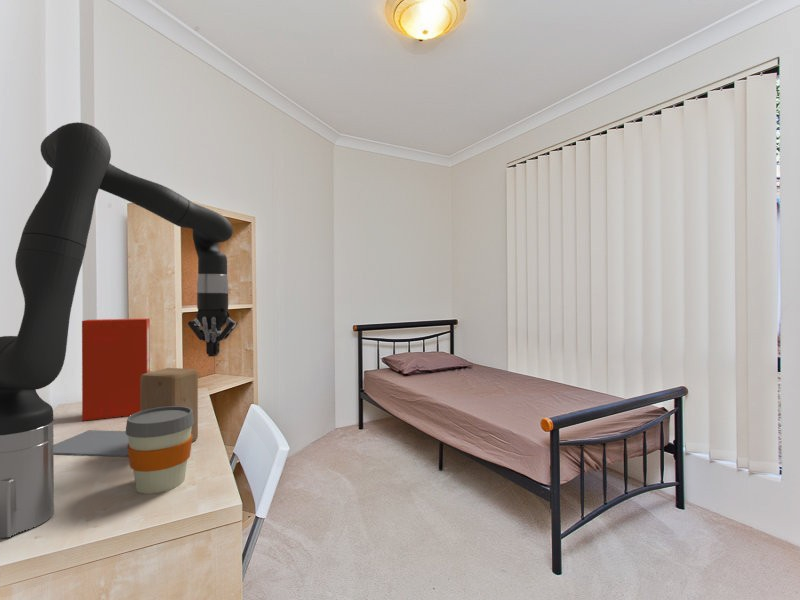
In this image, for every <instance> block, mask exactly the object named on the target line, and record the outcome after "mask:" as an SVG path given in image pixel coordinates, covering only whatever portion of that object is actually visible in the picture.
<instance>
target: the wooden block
mask: <svg viewBox="0 0 800 600" xmlns="http://www.w3.org/2000/svg"><path fill="white" fill-rule="evenodd" d="M198 373H199V371H198V370H197V369H195V368H181V367H180V368H177V367H167V368H163V369H158V370H154V371H150V372H149V373H145V374H143V375H141V378H140V384H141V411H144V410H148V409H153V408H159V407H168V406H183V407H189V408H191V409H192V410H193V418H194V424H193V425H192V429H191V434H192V435H193V437H192V443H193V442H194V441H197V439H198V436H199V434H198V433H199V430H198V429H199V428H198V427H199V419H198V418H199V390H198V389H199V385H198V384H199V374H198Z"/></svg>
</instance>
